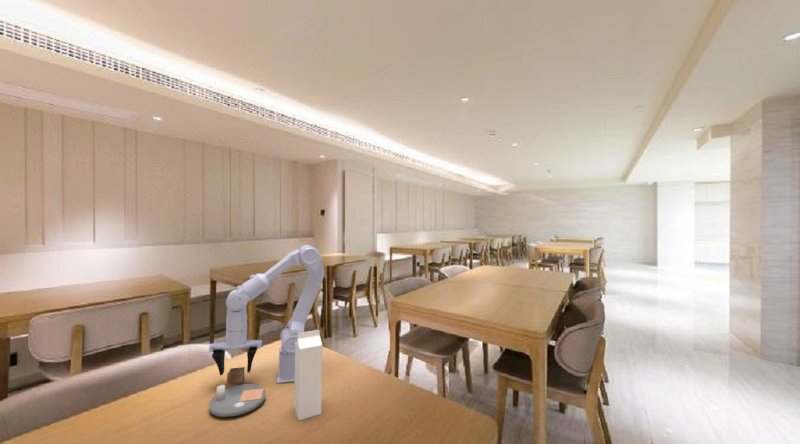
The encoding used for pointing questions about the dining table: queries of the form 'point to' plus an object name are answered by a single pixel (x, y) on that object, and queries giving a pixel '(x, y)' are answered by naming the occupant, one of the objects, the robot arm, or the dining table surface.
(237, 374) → the walnut block
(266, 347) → the dining table surface
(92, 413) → the dining table surface
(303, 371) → the milk
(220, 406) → the turntable
